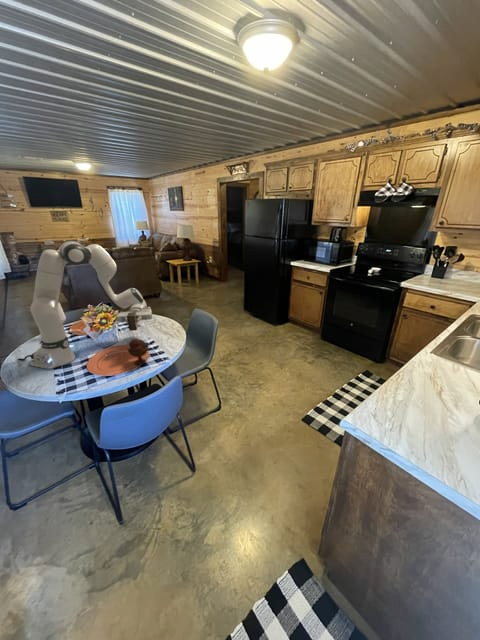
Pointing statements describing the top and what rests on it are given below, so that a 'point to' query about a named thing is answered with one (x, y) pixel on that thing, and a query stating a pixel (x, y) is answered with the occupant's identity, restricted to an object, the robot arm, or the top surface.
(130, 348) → the ice cream bowl
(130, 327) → the eraser
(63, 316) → the champagne flute
